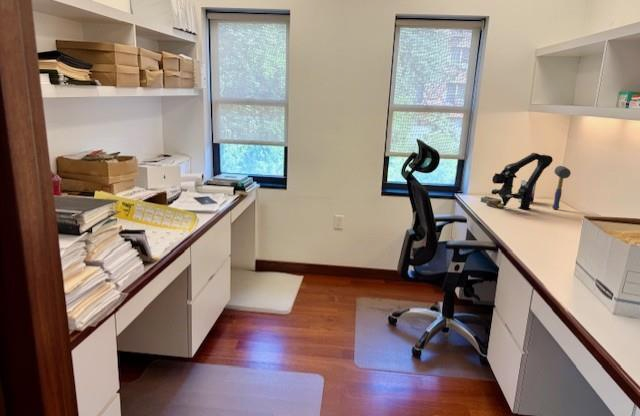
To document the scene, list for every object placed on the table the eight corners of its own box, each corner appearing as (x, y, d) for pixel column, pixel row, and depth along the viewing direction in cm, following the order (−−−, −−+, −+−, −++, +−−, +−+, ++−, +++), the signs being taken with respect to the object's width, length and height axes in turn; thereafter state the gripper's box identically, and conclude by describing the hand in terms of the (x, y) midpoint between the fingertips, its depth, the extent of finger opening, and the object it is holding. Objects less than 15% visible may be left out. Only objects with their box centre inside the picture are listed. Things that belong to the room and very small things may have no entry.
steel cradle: (485, 200, 318) (486, 196, 318) (500, 203, 311) (500, 199, 310) (480, 201, 313) (481, 197, 312) (495, 204, 305) (495, 200, 305)
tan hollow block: (492, 204, 306) (493, 198, 304) (500, 206, 301) (501, 200, 300) (487, 206, 301) (488, 199, 300) (496, 207, 297) (497, 201, 296)
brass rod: (486, 205, 304) (486, 201, 302) (488, 203, 305) (488, 200, 304) (501, 209, 296) (501, 205, 295) (503, 207, 298) (503, 203, 296)
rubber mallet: (564, 212, 294) (572, 168, 286) (552, 211, 295) (560, 167, 288) (558, 207, 306) (566, 165, 298) (546, 206, 307) (554, 164, 300)
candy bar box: (527, 200, 323) (530, 179, 319) (533, 202, 319) (537, 180, 315) (517, 201, 318) (521, 180, 314) (523, 203, 314) (527, 181, 310)
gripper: (489, 182, 293) (486, 205, 297) (517, 187, 280) (513, 210, 284) (496, 181, 300) (493, 202, 304) (524, 185, 288) (520, 208, 292)
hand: (504, 206), depth 296 cm, fingers closed
